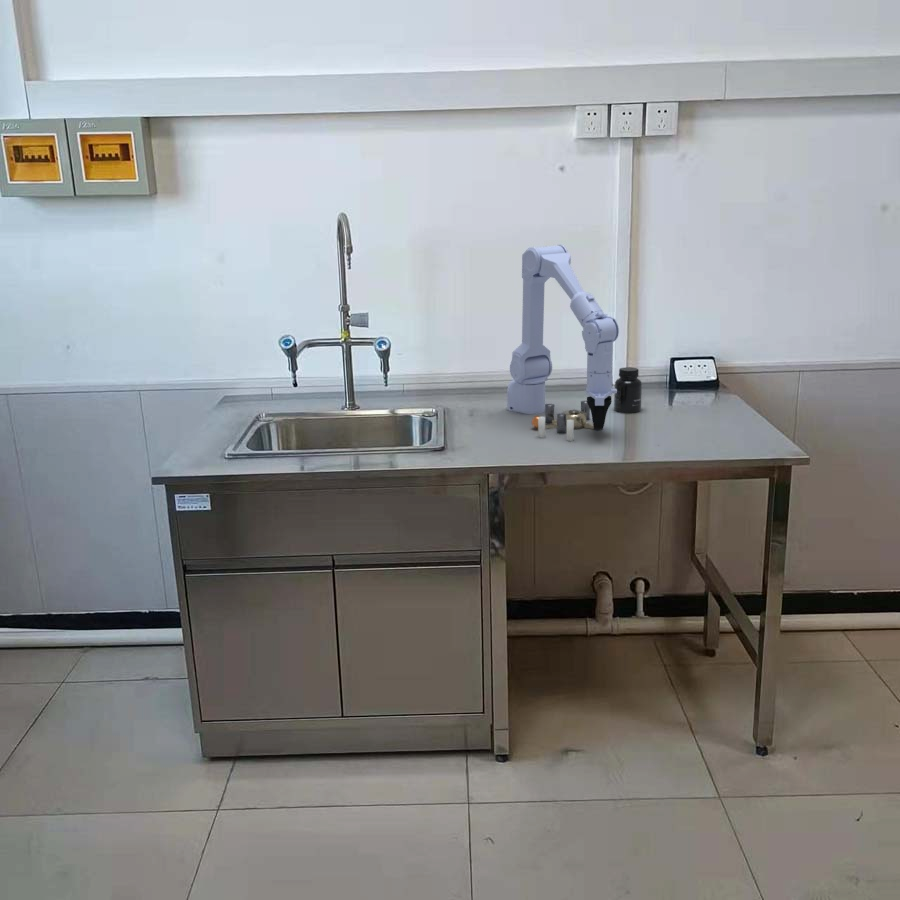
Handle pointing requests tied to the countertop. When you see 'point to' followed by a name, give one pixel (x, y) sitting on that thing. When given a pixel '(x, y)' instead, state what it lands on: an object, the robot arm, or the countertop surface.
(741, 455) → the countertop surface
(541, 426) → the white rounded posts
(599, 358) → the robot arm
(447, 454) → the countertop surface
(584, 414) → the capstan
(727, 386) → the countertop surface
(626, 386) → the supplement bottle
